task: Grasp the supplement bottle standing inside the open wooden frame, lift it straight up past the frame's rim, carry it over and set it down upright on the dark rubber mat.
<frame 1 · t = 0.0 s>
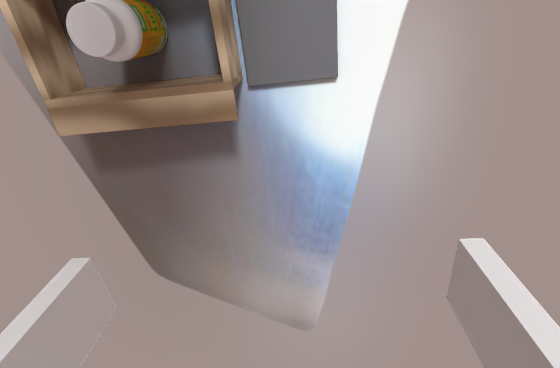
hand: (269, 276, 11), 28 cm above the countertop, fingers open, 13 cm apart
mat: (288, 31, 33), on the countertop
wooden frame: (144, 27, 33), on the countertop
supplement bottle: (145, 27, 33), resting in wooden frame
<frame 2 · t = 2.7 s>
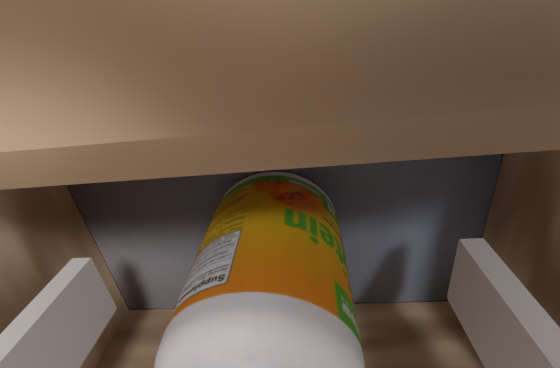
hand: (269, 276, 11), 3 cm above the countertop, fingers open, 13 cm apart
wooden frame: (276, 221, 14), on the countertop
supplement bottle: (277, 218, 14), resting in wooden frame
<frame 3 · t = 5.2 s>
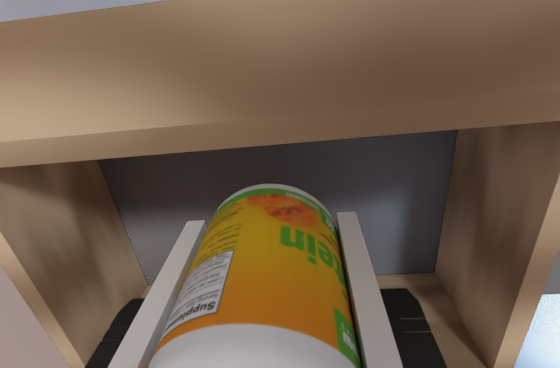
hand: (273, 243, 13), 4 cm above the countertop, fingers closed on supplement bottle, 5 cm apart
wooden frame: (275, 203, 17), on the countertop
supplement bottle: (273, 231, 13), point 3 cm above the countertop, touching gripper
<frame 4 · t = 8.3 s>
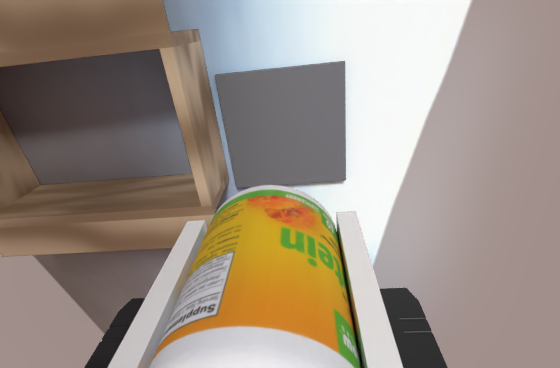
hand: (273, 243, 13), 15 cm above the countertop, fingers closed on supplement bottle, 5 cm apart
mat: (285, 129, 26), on the countertop
wooden frame: (106, 122, 27), on the countertop
supplement bottle: (273, 233, 13), point 15 cm above the countertop, touching gripper
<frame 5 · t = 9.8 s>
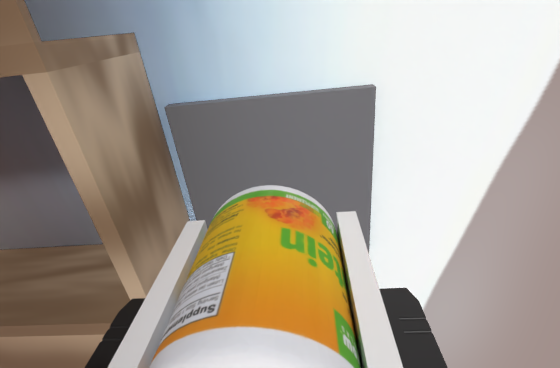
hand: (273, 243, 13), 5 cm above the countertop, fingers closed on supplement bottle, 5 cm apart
mat: (278, 184, 17), on the countertop
wooden frame: (9, 172, 18), on the countertop
supplement bottle: (273, 233, 13), point 4 cm above the countertop, touching gripper
when the fingers open (1 cm above the countertop, at t = 11.4 s): supplement bottle stays where it is, resting on mat.
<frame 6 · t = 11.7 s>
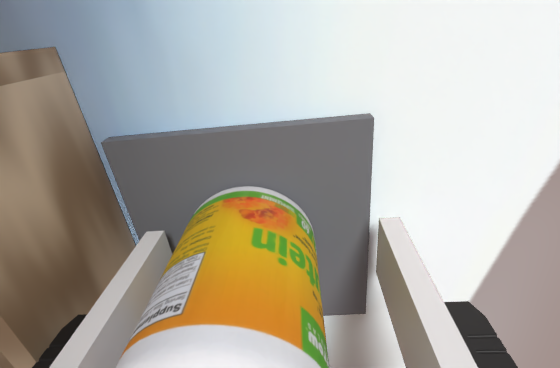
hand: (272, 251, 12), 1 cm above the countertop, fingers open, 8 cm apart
mat: (254, 232, 14), on the countertop
supplement bottle: (252, 234, 13), resting on mat
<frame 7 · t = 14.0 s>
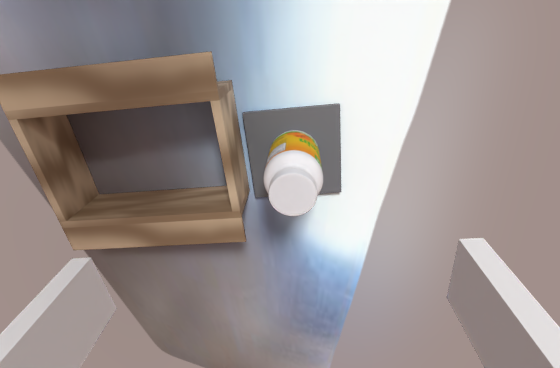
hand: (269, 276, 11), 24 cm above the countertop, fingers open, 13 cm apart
mat: (294, 152, 34), on the countertop
wooden frame: (156, 146, 35), on the countertop
supplement bottle: (294, 152, 34), resting on mat
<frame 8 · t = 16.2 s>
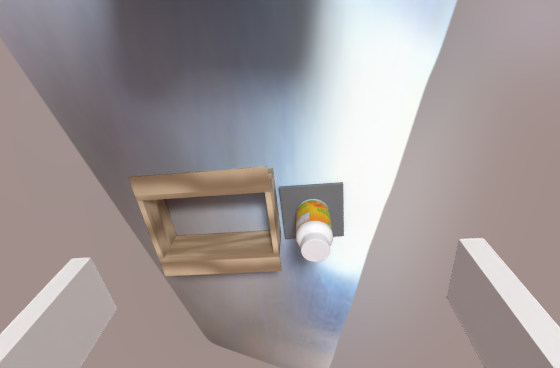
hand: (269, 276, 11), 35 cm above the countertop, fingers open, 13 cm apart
mat: (312, 210, 51), on the countertop
wooden frame: (219, 206, 51), on the countertop
supplement bottle: (312, 211, 50), resting on mat
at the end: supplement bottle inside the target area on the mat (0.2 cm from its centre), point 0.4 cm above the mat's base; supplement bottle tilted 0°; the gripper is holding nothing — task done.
